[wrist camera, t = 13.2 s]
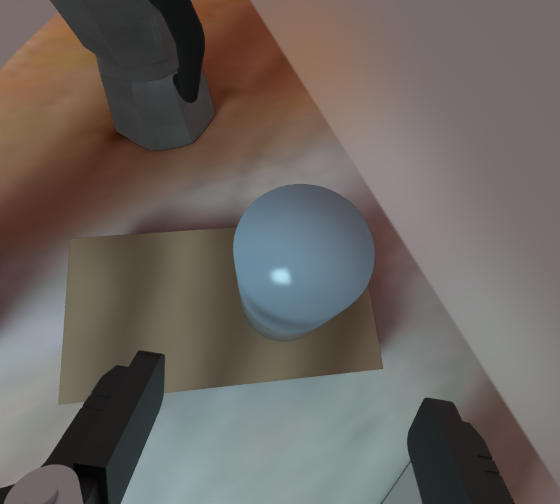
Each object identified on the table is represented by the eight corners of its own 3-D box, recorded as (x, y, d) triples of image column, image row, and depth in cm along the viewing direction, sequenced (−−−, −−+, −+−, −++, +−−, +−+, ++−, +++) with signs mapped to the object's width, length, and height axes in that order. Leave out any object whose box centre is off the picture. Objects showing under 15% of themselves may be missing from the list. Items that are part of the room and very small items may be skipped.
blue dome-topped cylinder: (244, 346, 23) (238, 326, 13) (237, 260, 24) (228, 188, 15) (332, 337, 23) (386, 312, 14) (320, 253, 25) (362, 180, 16)
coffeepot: (79, 82, 34) (-97, -215, 17) (169, 38, 36) (95, -263, 19) (172, 209, 31) (70, 2, 14) (264, 152, 33) (277, -86, 16)
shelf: (93, 399, 26) (58, 404, 21) (100, 260, 29) (70, 238, 24) (360, 369, 28) (383, 368, 23) (340, 242, 31) (356, 218, 26)
